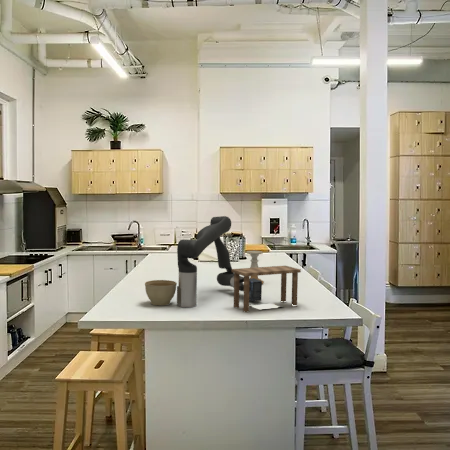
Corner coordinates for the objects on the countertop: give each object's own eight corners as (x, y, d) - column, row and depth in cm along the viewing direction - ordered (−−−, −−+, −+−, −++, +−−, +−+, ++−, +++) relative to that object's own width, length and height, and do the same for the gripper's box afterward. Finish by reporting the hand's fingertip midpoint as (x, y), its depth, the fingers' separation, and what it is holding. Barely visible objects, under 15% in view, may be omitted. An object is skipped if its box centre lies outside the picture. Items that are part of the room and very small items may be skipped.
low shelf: (244, 312, 242) (245, 273, 240) (230, 306, 254) (231, 269, 253) (299, 306, 256) (300, 269, 255) (284, 301, 269) (285, 265, 267)
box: (244, 298, 268) (245, 278, 267) (253, 297, 271) (254, 278, 270) (252, 301, 261) (252, 281, 260) (261, 300, 264) (262, 280, 263)
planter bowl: (145, 307, 249) (145, 286, 248) (144, 300, 265) (144, 280, 264) (178, 306, 252) (178, 285, 251) (174, 299, 268) (175, 279, 267)
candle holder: (240, 282, 321) (241, 250, 320) (257, 281, 327) (257, 250, 326) (250, 285, 311) (251, 253, 309) (267, 284, 316) (268, 252, 315)
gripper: (228, 277, 276) (243, 282, 261) (250, 275, 282) (266, 280, 267) (227, 290, 276) (242, 297, 261) (250, 288, 283) (266, 294, 268)
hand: (254, 288), depth 264 cm, fingers closed on box, 5 cm apart
